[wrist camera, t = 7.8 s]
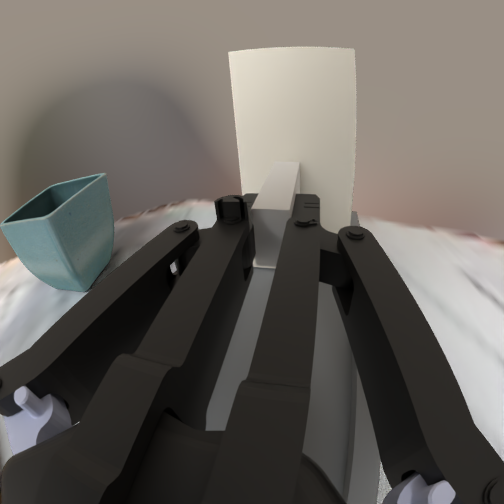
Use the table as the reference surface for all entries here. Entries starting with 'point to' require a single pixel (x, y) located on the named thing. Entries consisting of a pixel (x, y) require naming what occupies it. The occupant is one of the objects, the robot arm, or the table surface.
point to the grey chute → (312, 392)
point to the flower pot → (65, 232)
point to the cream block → (298, 122)
